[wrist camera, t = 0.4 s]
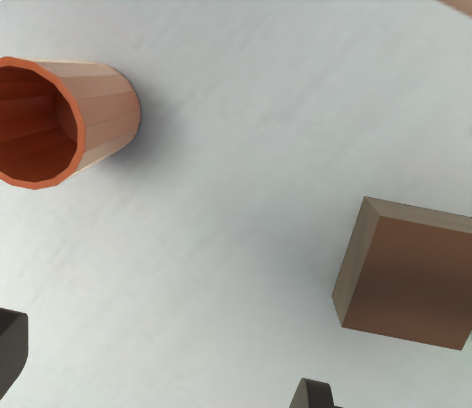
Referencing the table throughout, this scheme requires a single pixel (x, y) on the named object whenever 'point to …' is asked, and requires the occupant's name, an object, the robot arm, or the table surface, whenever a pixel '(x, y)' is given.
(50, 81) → the cup
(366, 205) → the block
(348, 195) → the table surface
